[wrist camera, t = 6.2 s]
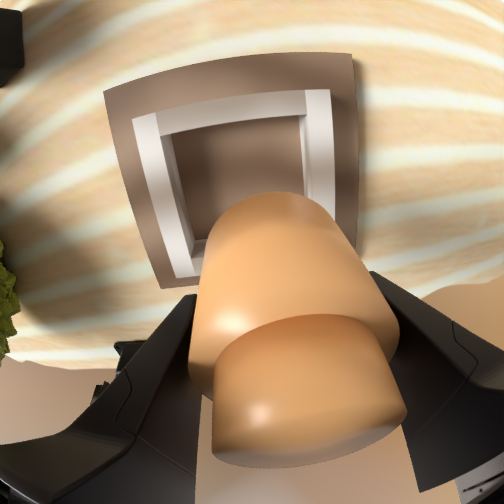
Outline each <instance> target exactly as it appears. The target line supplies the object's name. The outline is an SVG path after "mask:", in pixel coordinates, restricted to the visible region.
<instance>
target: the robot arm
mask: <svg viewBox="0 0 504 504" xmlns="http://www.w3.org/2000/svg"><path fill="white" fill-rule="evenodd" d="M369 273H370V275H371V277H372V278H373V280H374V281H375V283H376V285H377V286H378V288H379V290H380V291H381V293H382V294H383V296H384V298H385V300H386V301H387V303H388V305H389V306H390V308H391V310H392V312H393V313H394V315H395V317H396V319H397V321H398V324H399V331H400V337H399V343H398V346H397V349H396V351H395V353H394V355H393V357H392V359H391V360H390V362H389V363H388V365H389V367H390V369H391V372H392V374H393V377H394V379H395V381H396V384H397V386H398V389H399V391H400V394H401V396H402V399H403V401H404V404H405V406H406V409H407V415H406V417H405V419H404V420H403V422H402V423H401V426H402V429H403V432H404V436H405V439H406V442H407V447H408V450H409V454H410V457H411V461H412V465H413V469H414V473H415V477H416V481H417V485H418V489H419V492H420V493H421V492H424V491H426V490H429V489H432V488H434V487H437V486H439V485H442V484H444V483H447V482H448V481H451V480H453V479H455V482H456V485H457V489H458V493H459V497H460V501H461V504H504V351H503V350H501V349H500V348H498V347H496V346H494V345H493V344H491V343H489V342H487V341H485V340H484V339H482V338H480V337H479V336H477V335H475V334H473V333H472V332H470V331H469V330H467V329H466V328H464V327H462V326H461V325H459V324H458V323H456V322H455V321H452V320H451V319H450V318H449V317H447V316H445V315H444V314H442V313H441V312H439V311H438V310H436V309H435V308H433V307H431V306H430V305H428V304H427V303H425V302H423V301H422V300H420V299H419V298H417V297H416V296H414V295H412V294H411V293H409V292H407V291H406V290H404V289H403V288H401V287H399V286H398V285H396V284H394V283H393V282H391V281H389V280H388V279H386V278H384V277H383V276H381V275H379V274H378V273H376V272H374V271H369ZM196 301H197V294H190V295H185V296H184V297H183V298H182V299H181V300H180V302H179V303H178V304H177V305H176V306H175V307H174V309H173V310H172V311H171V312H170V313H169V315H168V316H167V317H166V318H165V319H164V320H163V322H162V323H161V324H160V325H159V326H158V327H157V329H156V330H155V331H154V332H153V333H152V335H151V336H150V337H149V338H148V339H147V341H146V342H116V343H115V344H114V348H115V350H116V351H117V352H118V354H119V355H120V359H119V362H118V365H117V369H116V377H115V379H114V380H113V381H112V382H111V384H109V383H108V382H106V381H104V384H103V385H96V388H95V391H94V394H93V398H92V400H91V403H90V406H89V407H88V408H87V409H86V410H85V411H84V412H83V413H82V414H81V415H80V416H79V417H78V418H77V419H76V420H75V421H74V422H73V423H72V424H71V425H70V426H69V427H67V428H66V429H65V430H63V431H61V432H59V433H57V434H54V435H50V436H46V437H42V438H37V439H32V440H28V441H23V442H17V443H12V444H5V445H0V504H195V484H196V465H197V451H198V437H199V424H200V412H201V401H202V393H201V392H200V391H199V390H198V389H197V388H196V387H195V385H194V384H193V382H192V380H191V378H190V375H189V371H188V358H189V350H190V343H191V335H192V328H193V321H194V314H195V308H196Z"/></svg>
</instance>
